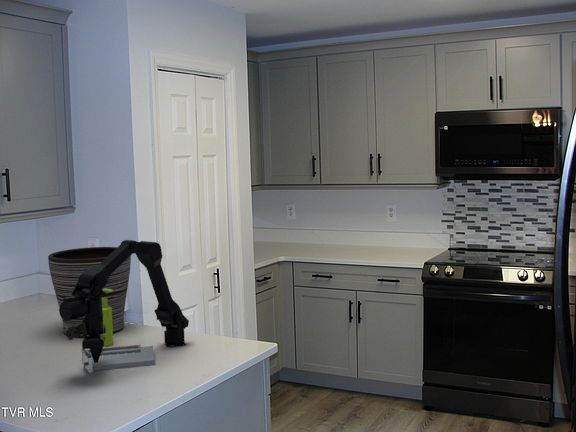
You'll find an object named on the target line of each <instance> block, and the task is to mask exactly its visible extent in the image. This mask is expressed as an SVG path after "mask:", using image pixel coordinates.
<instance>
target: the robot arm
mask: <svg viewBox="0 0 576 432" xmlns="http://www.w3.org/2000/svg"><path fill="white" fill-rule="evenodd" d="M116 247H117V248H116V249H115V250H114V251H113V252H112V253H111V254H110V255H109V256H108V257H107V258H105V259H104V260H103V261H102V262H101V263H100V264H99V265H97V266H95V267H93V268H90V269H88V270H87V271H85V272H83V273H82V274H81V275H80V276H79V278H78V279H79V280H78V282H77V284H76V286H75V288H74V290H73V292H72V297H65V298H63V302H62V303H61V305H60V308H59V307H58V312H59V316H60V318H61V320H62V319H63V320H65V321H69V320H73V319H76V318H79V317H83V316H84V317H83V319H82V321H81V322H78V323H75V324H73V325H71V326H68V327H67V328H65V333H66V335H65V337H66V338H67V340H68V341H71V340H73V339H76V338H75V337H77V336H79V335H81V334H83V336H86V337H85V338H82V341H81V347H82V348H81V350H82V349H85V350H87V349H90V351H91V354H92V358H93V361H94V363H98V360H99V357H100V354H101V352H102V349H103V348H105V346H104V343H105V337H103V336H102V335H100V334H104V333H106V325H104V324H103V308H102V297H106V296H108V294H107V293H105V292H104V291H103V288H104V287H105V286H106V284H107V283H108V281H109V277H110V275H111V274H112V273H113V272H114V271H115V270H116V269H117V268H118V267H119V266H120V265H121V264H123V263H124V262H125V261H126V260H127V259H128V258H129V257H130V256H131V257H132V255H133V254H135V255H136V258H137V259H138V262H139V263H141V265H143V266H144V268H146V272H147V274H148V277H149V280H150V282H151V286H152V289H153V291H154V294H155V297H156V300H157V308H156V309H154V313H155V316H156V321H157V320H158V322H159V323H160V326H161V327H162V328H164V327H165V330H164V331H163V336H164V337H163V338H164V339H163V340H164V344H165V345H166V347H177V346H186V342H185V339H186V338H185V329H186V328H188V327H189V323H190V320H189V319H188V318H187V317H186V316H185V315H184V313H183V311H182V309H181V307H180V305H179V304H178V303H177V302H176V301H175V300H174V299H173V297H172V294H171V290H170V289H169V285H168V282H167V279H166V277H165V274H164V270H163V267H162V264H161V263H162V259H163V251H162V246H161V244H160V243H159V242H156V241H146V240H145V241H144V240H140V241H136V240H134V239H133V240H131V239H124V240H122V241H121V243H120V245H118V246H116ZM82 290H83V291H89V292H82ZM87 335H88V336H87Z"/></svg>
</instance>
